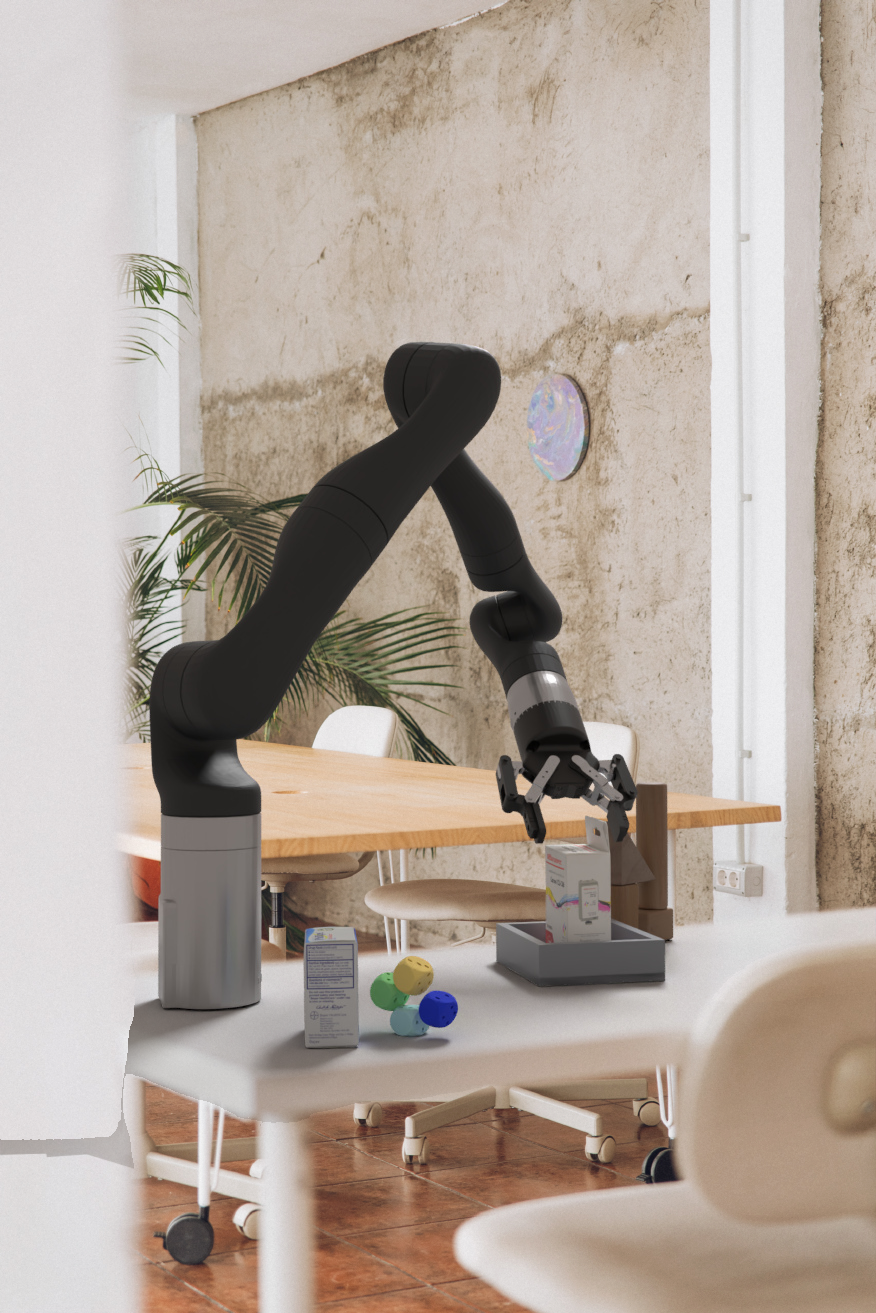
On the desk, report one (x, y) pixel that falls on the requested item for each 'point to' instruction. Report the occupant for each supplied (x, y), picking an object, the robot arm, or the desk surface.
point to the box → (580, 956)
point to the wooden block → (643, 866)
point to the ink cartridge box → (579, 888)
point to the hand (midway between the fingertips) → (581, 837)
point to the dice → (413, 980)
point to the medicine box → (331, 988)
